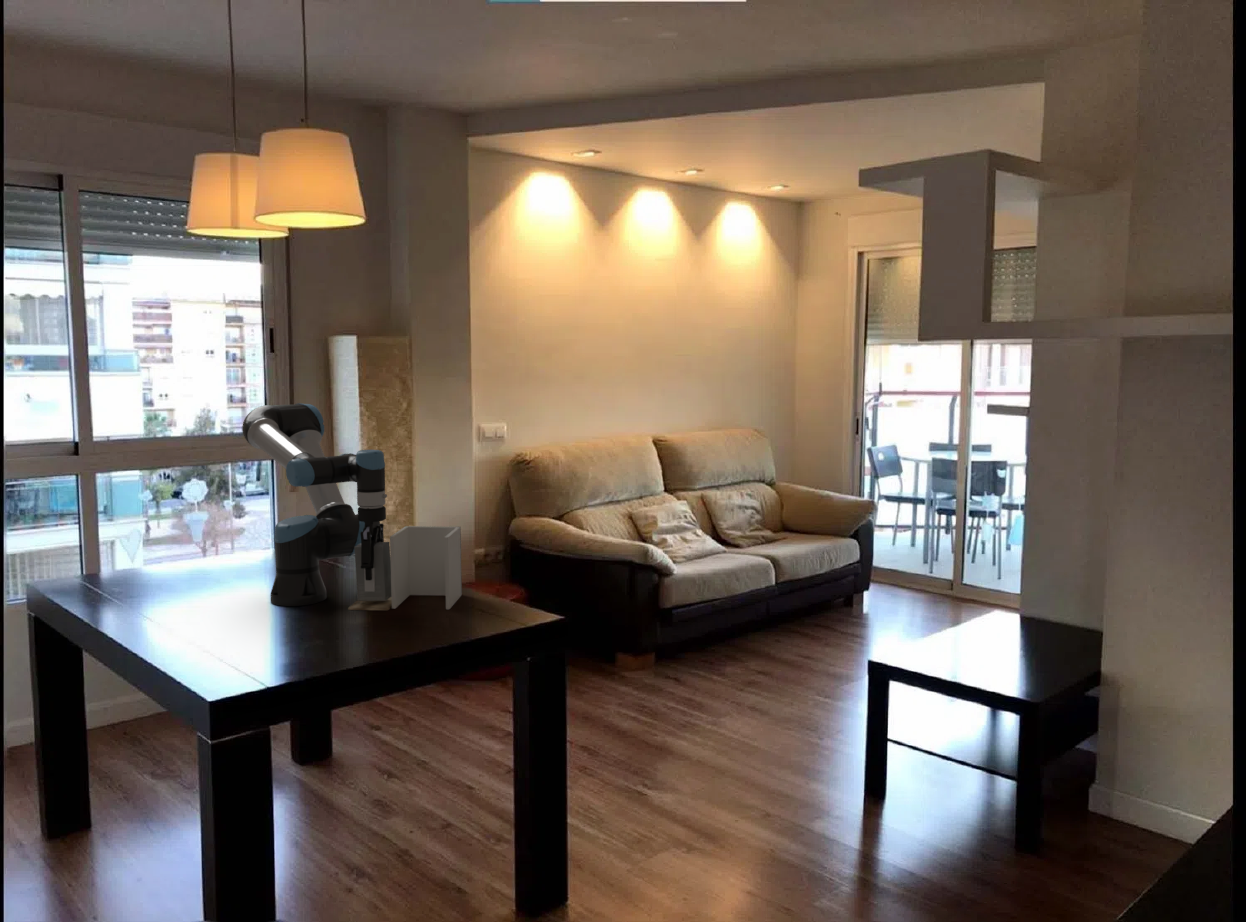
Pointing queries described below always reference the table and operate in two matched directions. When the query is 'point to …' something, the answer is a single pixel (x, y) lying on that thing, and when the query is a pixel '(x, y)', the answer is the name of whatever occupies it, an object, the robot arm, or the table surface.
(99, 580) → the table surface
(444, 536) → the shelf bay
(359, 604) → the cork coaster
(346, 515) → the robot arm
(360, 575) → the skincare box
